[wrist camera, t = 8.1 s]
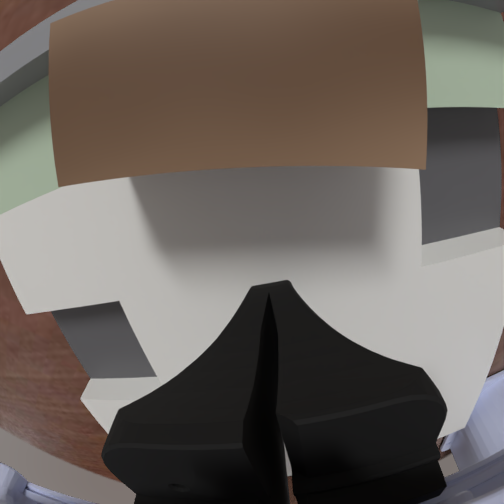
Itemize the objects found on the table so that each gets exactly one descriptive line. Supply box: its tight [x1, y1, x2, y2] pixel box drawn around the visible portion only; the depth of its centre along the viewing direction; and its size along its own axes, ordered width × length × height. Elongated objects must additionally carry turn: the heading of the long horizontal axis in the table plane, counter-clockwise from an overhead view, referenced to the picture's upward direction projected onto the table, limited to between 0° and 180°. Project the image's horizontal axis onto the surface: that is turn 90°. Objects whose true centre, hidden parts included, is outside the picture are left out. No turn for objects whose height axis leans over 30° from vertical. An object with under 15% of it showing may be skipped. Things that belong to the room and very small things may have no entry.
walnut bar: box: [49, 0, 427, 187], centre depth 7 cm, size 4×8×4 cm, turn 92°
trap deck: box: [0, 0, 504, 476], centre depth 12 cm, size 27×24×4 cm
